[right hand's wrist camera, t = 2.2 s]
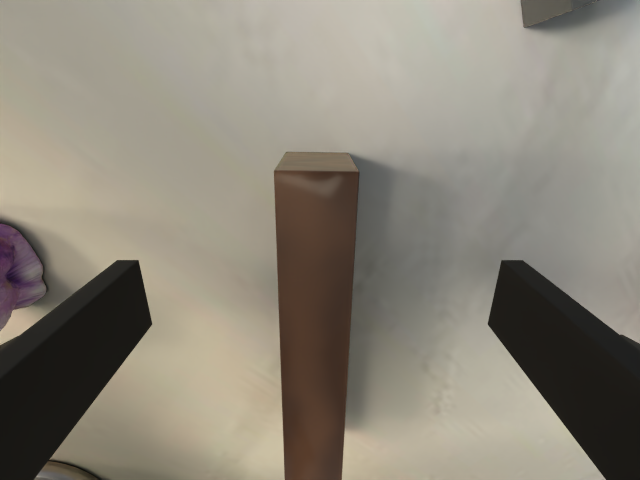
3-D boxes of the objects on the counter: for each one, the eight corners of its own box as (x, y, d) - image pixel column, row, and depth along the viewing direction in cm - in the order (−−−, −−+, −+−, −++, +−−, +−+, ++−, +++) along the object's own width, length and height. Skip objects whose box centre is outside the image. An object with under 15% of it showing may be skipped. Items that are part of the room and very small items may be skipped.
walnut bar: (291, 411, 38) (284, 486, 30) (286, 151, 27) (273, 170, 20) (336, 411, 38) (341, 487, 30) (348, 152, 27) (359, 171, 20)
